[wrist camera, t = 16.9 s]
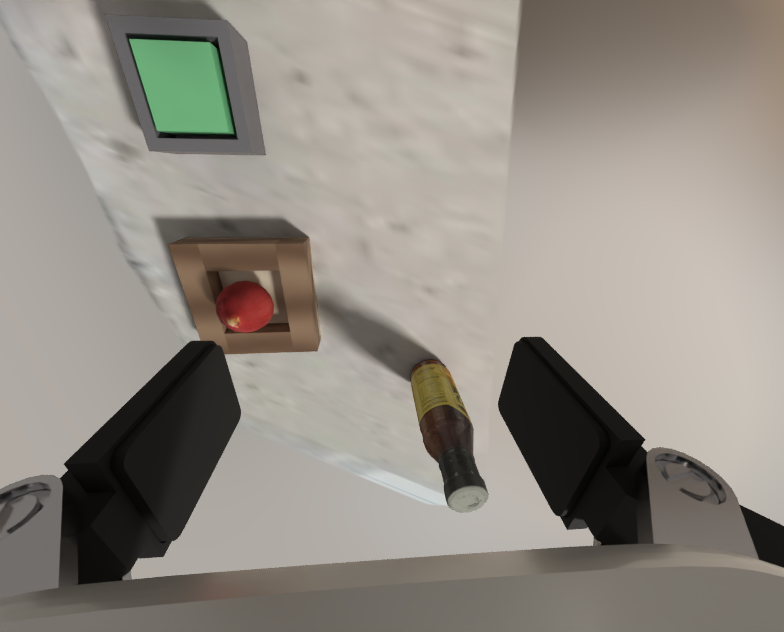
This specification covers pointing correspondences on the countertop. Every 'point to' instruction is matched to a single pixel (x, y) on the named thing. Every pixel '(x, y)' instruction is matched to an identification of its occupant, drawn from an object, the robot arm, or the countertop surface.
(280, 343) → the open box
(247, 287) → the onion
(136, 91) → the button housing
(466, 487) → the sauce bottle
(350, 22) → the countertop surface
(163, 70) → the button
